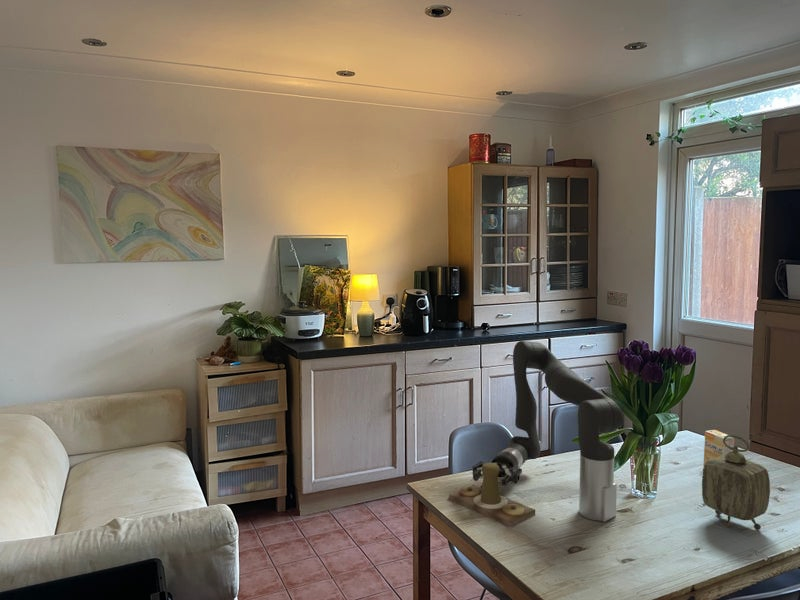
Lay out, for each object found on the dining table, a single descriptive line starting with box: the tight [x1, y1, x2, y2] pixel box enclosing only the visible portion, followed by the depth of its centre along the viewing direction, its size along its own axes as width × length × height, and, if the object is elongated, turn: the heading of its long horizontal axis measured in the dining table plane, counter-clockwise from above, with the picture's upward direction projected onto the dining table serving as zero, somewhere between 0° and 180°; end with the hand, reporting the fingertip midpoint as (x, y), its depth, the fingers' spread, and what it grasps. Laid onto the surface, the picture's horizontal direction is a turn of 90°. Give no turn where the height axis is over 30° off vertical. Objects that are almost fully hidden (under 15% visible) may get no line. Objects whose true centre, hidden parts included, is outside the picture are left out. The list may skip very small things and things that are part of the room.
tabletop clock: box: [701, 434, 771, 531], centre depth 162 cm, size 14×9×25 cm, turn 32°
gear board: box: [448, 484, 536, 527], centre depth 175 cm, size 24×11×3 cm, turn 40°
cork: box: [481, 462, 502, 505], centre depth 175 cm, size 6×6×11 cm
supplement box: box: [702, 429, 735, 468], centre depth 201 cm, size 8×5×13 cm, turn 17°
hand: (488, 480), depth 173 cm, fingers open, 8 cm apart
